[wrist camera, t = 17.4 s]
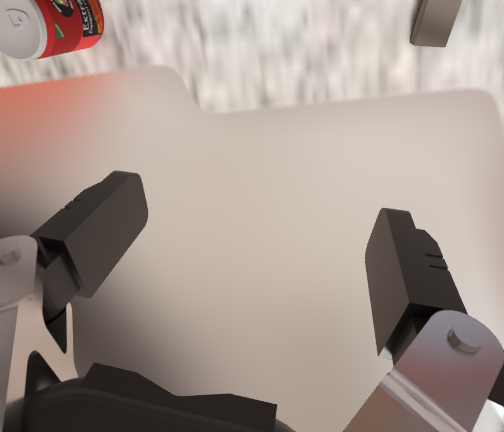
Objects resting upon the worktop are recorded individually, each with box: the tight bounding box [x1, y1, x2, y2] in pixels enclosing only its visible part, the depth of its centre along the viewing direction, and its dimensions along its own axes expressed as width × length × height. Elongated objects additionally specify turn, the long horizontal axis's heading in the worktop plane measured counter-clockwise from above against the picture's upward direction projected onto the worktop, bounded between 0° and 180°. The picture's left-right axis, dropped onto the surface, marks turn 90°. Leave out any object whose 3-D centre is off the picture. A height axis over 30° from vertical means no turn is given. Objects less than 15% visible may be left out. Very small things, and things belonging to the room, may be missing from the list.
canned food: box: [0, 0, 104, 61], centre depth 35 cm, size 8×8×11 cm
